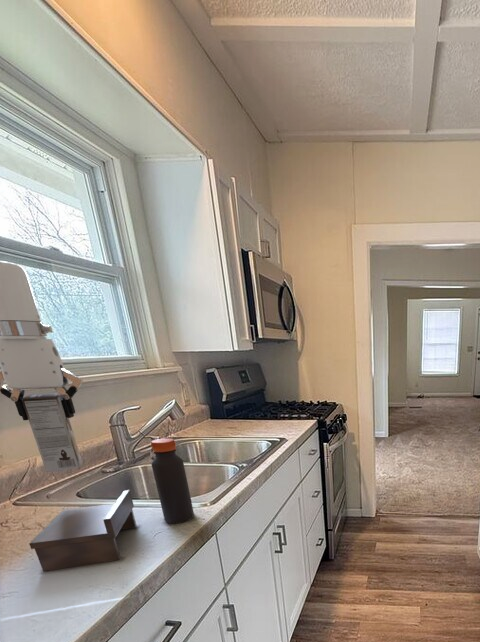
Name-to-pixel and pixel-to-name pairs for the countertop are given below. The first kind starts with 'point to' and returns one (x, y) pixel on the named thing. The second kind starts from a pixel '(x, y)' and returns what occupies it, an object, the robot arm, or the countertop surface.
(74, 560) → the shelf
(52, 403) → the coffee box
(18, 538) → the countertop surface
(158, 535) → the countertop surface
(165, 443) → the bottle
